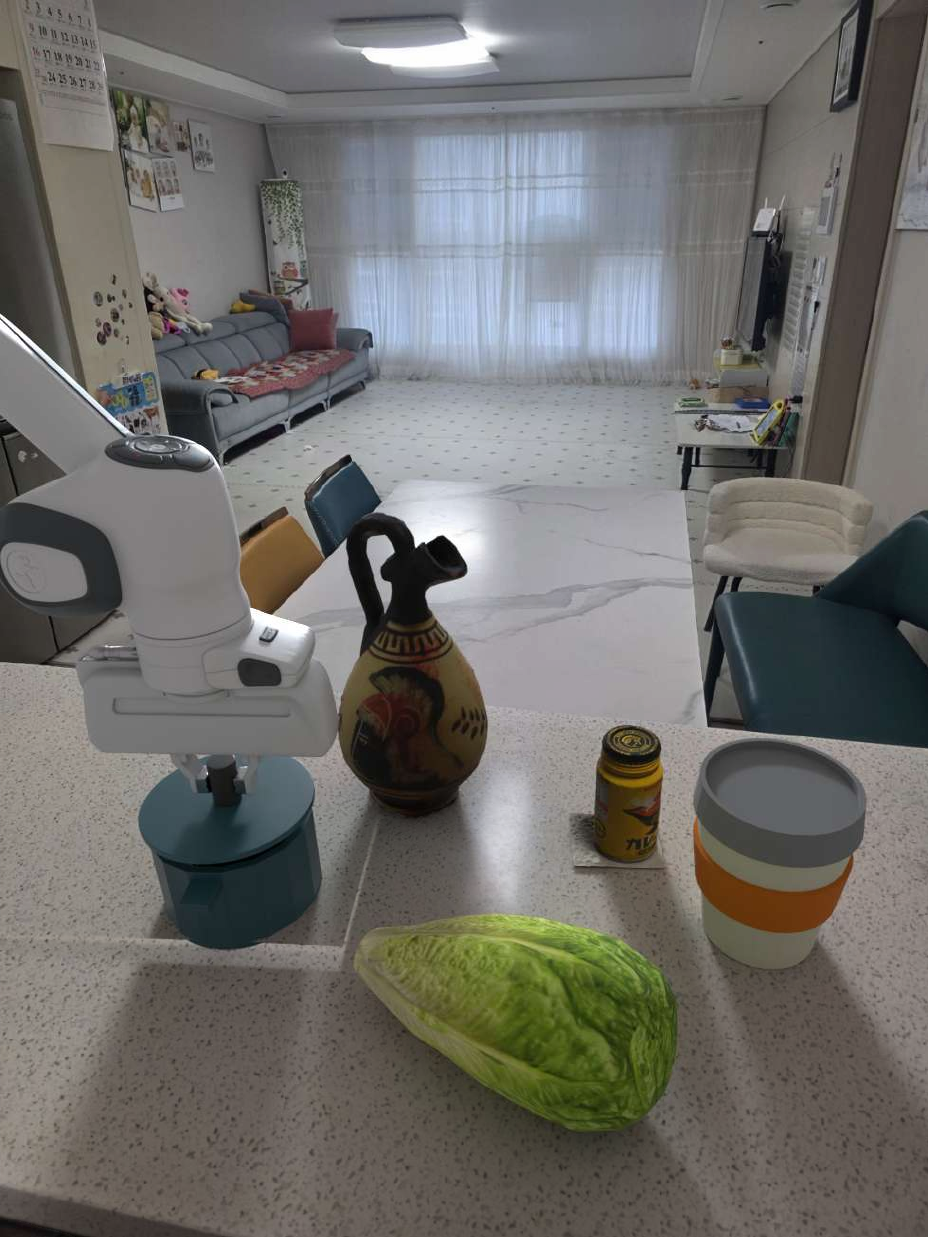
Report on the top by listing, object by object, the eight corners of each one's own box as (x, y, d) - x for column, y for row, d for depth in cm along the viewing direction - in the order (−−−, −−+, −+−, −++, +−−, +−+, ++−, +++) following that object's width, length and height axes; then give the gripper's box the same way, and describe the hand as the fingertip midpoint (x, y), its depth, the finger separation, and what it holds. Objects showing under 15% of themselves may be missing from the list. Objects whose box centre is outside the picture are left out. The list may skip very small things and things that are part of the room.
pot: (129, 972, 67) (105, 895, 64) (211, 819, 84) (196, 751, 81) (291, 980, 66) (277, 901, 62) (341, 823, 83) (333, 754, 79)
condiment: (665, 869, 76) (675, 762, 71) (573, 867, 77) (576, 761, 71) (654, 817, 82) (663, 716, 77) (569, 815, 83) (572, 715, 78)
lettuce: (414, 863, 70) (330, 873, 59) (703, 951, 59) (666, 984, 48) (384, 1008, 69) (292, 1046, 58) (675, 1126, 58) (630, 1202, 47)
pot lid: (109, 867, 65) (94, 815, 63) (181, 757, 78) (170, 711, 76) (290, 873, 64) (281, 821, 62) (332, 761, 77) (326, 714, 75)
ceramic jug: (513, 765, 91) (511, 506, 78) (446, 853, 79) (430, 564, 66) (383, 729, 98) (361, 486, 85) (303, 805, 86) (263, 535, 73)
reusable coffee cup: (853, 998, 63) (891, 846, 56) (684, 977, 65) (702, 829, 59) (820, 880, 74) (849, 742, 67) (676, 866, 76) (691, 730, 70)
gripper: (49, 665, 62) (92, 810, 68) (314, 668, 60) (333, 817, 67) (90, 627, 68) (126, 764, 74) (333, 629, 66) (349, 769, 72)
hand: (226, 789), depth 70 cm, fingers closed on pot lid, 2 cm apart
